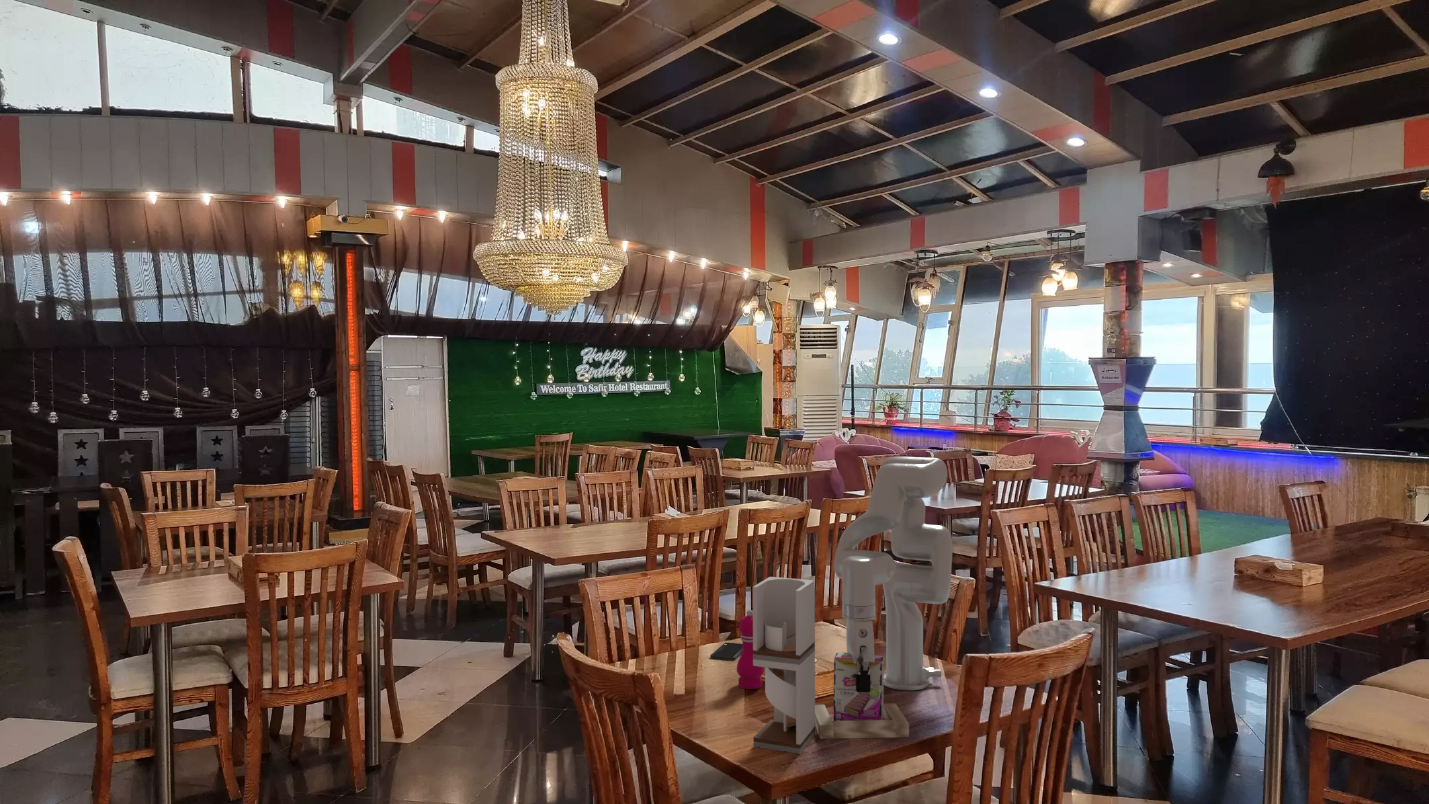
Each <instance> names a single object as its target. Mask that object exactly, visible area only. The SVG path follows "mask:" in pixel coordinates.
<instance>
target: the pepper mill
mask: <svg viewBox="0 0 1429 804" xmlns="http://www.w3.org/2000/svg"><path fill="white" fill-rule="evenodd" d="M738 629H739V631H740V632H741V634H740V640H741V641H742V644H743V650H742V654H741V656H740V657H739V658H738V661H737V664H736V672H737V674H738V676H739V677H738V687H739V688H741V689H745V690H757V689H760V688H762V686H763V679H762V675H763V674H764V672H765V667H760V666H753V609H752V610H751V609H748V610H747V611H746V615H744V616H743V617H741V619H740V620H739V622H738Z"/></svg>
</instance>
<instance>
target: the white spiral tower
mask: <svg viewBox="0 0 1429 804" xmlns="http://www.w3.org/2000/svg"><path fill="white" fill-rule="evenodd" d="M815 584H816V582H815V580H814V579H803V578H802V579H801V578H791V577H789V578H788V577H776V576H769V577H767V578H765V579H764V580H762V581H760V582H759V583H757V584H755V585H754V586H752V611H753V666H760V667H764V672H765V673H764V682H765V683H764V689H765V690H764V691H765V696H766V697H765V698H766V699H767V701H768V702H769V703H770V704H771V705H772V706H773V719H769V720H768V721H767V722H766V724H764V726H763V727H761V729H760V730H758V732H757V733H756V734H755V735H754V736H753V746H755V747H754V748H758V747H762V748H761V749H764V750H771V749H774V750H773V751H777V750H778V752H784V751H787V752H786V753H790V752H791V754H796V753H797V754H796V755H801V754H802V753H803V752H804V750H805V749H806V747H808V745H809V744H810V742H811V741H812V740H813V738H814V737H815V735H816V727H815V705H816V652H815V651H816V638H815V637H816V626H815V625H816V616H815V615H816V613H815V612H816V610H815V609H816V607H815V605H816V604H815V603H816V602H815V601H816V599H815V598H816V597H815V595H816V593H815V590H816V589H815V587H816V586H815Z"/></svg>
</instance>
